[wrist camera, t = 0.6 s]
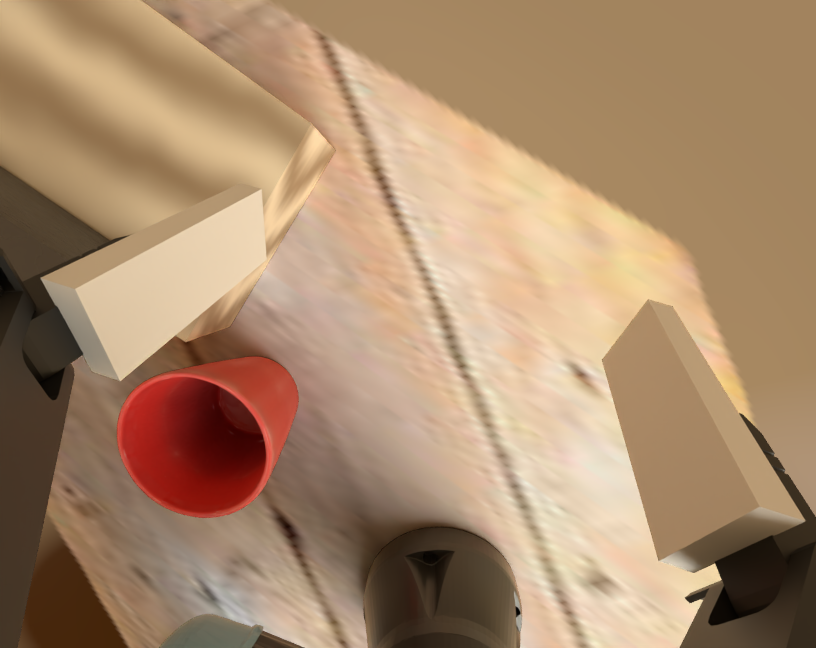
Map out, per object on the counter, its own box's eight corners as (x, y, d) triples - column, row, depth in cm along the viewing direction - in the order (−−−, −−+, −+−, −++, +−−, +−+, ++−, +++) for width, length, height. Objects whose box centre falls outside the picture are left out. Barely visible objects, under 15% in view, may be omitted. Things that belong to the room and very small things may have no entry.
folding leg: (-75, 168, 25) (-198, 146, 20) (-58, 121, 24) (-181, 88, 20) (148, 317, 26) (83, 331, 21) (170, 277, 25) (108, 281, 21)
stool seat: (229, 326, 32) (185, 342, 27) (7, 176, 31) (-91, 157, 25) (335, 150, 29) (311, 123, 23) (91, -26, 28) (0, -102, 22)
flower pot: (251, 314, 32) (175, 338, 23) (339, 397, 33) (302, 454, 24) (181, 391, 34) (83, 443, 24) (266, 468, 35) (204, 547, 25)
